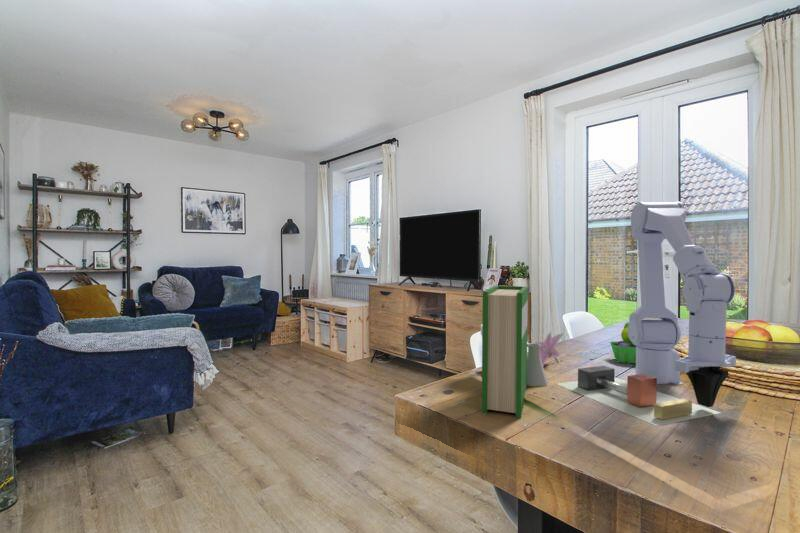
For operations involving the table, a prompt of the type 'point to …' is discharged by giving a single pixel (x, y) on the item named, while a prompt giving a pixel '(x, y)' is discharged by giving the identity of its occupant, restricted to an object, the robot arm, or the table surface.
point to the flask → (535, 366)
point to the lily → (549, 348)
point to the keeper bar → (672, 409)
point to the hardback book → (504, 349)
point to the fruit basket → (624, 348)
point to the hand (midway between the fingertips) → (705, 405)
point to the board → (644, 412)
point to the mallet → (635, 389)
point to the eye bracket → (594, 377)
